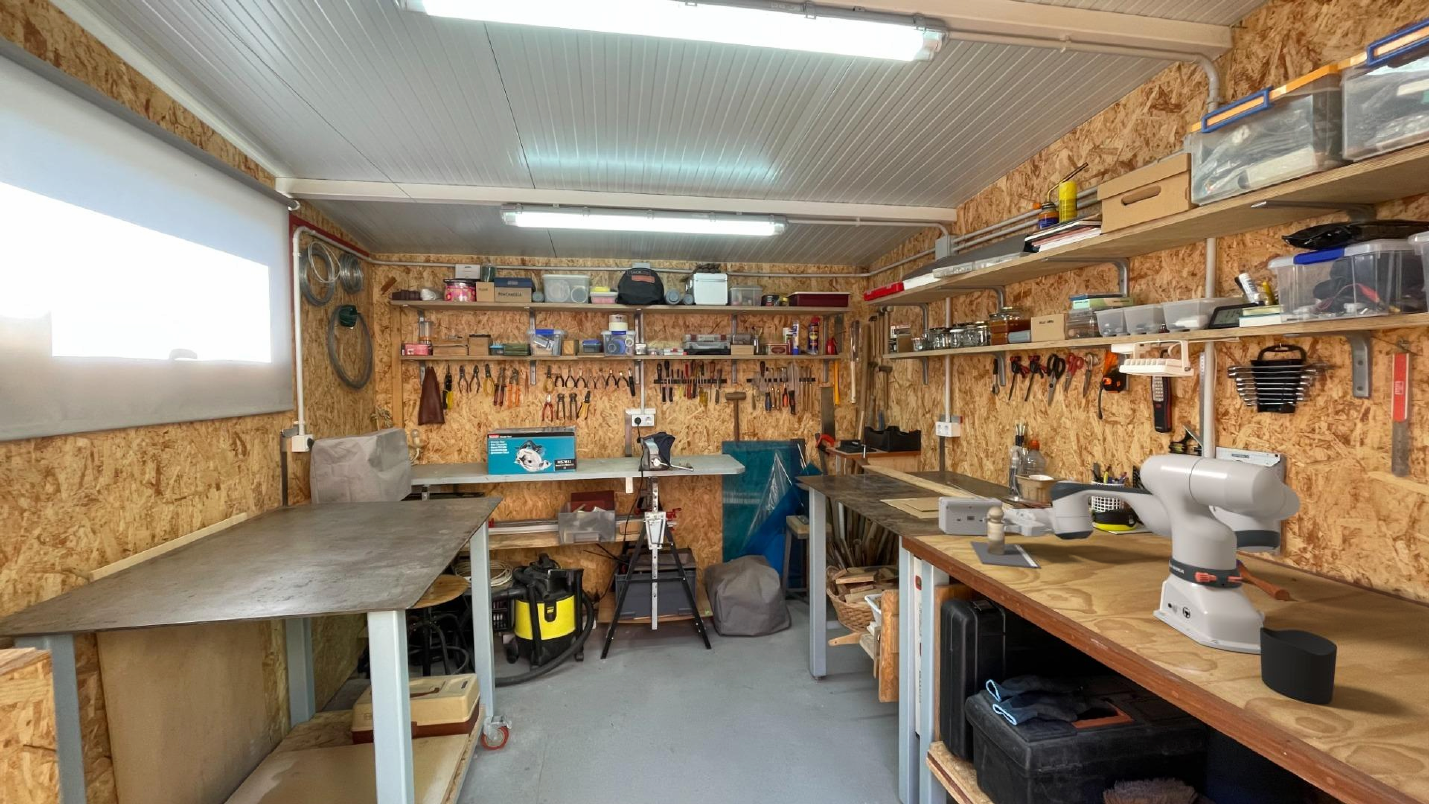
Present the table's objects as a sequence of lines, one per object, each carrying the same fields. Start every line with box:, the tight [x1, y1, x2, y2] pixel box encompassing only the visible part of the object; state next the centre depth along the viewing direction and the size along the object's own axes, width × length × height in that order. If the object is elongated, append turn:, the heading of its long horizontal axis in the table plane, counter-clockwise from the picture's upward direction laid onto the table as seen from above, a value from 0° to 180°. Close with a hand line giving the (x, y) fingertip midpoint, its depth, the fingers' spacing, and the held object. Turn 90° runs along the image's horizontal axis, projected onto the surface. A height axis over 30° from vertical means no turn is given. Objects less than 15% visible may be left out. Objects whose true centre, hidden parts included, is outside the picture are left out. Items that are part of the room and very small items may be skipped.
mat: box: [970, 541, 1041, 569], centre depth 172 cm, size 22×16×1 cm
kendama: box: [1236, 558, 1291, 602], centre depth 144 cm, size 6×6×20 cm
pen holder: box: [1260, 626, 1338, 705], centre depth 96 cm, size 9×9×10 cm
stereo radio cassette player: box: [938, 481, 1003, 536], centre depth 196 cm, size 21×8×20 cm, turn 82°
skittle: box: [987, 507, 1006, 555], centre depth 172 cm, size 5×5×15 cm
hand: (993, 524), depth 172 cm, fingers open, 8 cm apart
